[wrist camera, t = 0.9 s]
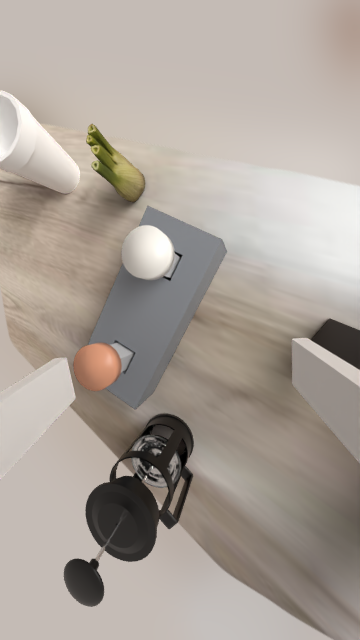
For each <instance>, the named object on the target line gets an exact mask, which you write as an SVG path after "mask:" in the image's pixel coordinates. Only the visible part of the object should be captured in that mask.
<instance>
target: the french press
mask: <svg viewBox="0 0 360 640" xmlns="http://www.w3.org/2000/svg"><path fill="white" fill-rule="evenodd" d="M155 425H164V426H167V427H170V428H171V429H173V430H174V432H173V433H172V435H171V437H170V438H169V440H168V439H166V438H164V437H162V436H159V435H151V432H152V429H153V427H154V426H155ZM138 439H139V440H138ZM181 439H182V440H183V441H184V443H185V446H186V448H185V451H184V452H183V453H182V454H181V455H180V456H179V453H178V451H177V448H178V446H179V443H180V441H181ZM133 445H134V446H133ZM132 447H133V448H132ZM193 447H194V441H193V435H192V433H191V430H190V429H189V427H188V426H187V424H186V423H185V422H184V421H183V420H181V419H180V418H178V417H177V416H174V415H171V414H160V415H157V416H155V417H153V418H152V419H151V420H150V421H149V423H148V424H147V426H146V428H145V429H144V430H143V431H142V433H141V434H140V435H139V436H138V437H137V439H136V440H135V441H134V442H133V443H132V445H131V446H130V447H129V448H128V449H127V451H126V452H125V453H124V454H123V455H122V457H121V458H120V459H119V460H118V461H117V463H116V464H115V466H114V467H113V468H112V471H111V474H110V482H108V483H103V484H101V485H99V486H98V487H96V488H95V489H94V490H93V491H92V493H91V494H90V495H89V498H88V500H87V504H86V519H87V524H88V527H89V529H90V531H91V533H92V535H93V537H94V539H95V540H96V542H97V543H98V544H99V545H100V546H101V547H102V548H101V550H100V552H99V553H98V555H97V557H96V558H95V559H92V560H91V561H90V563H88V562H87V561H85V560H82V559H73V560H70V561H69V562H68V563H67V564H66V566H65V569H64V580H65V583H66V587H67V589H68V591H69V592H70V594H71V595H72V596H73V597H74V598H75V599H76V600H77V601H78V602H79V603H81V604H83V605H86V606H91V607H92V606H96V605H98V604H99V603H100V602H101V601H102V599H103V596H104V585H103V582H102V579H101V577H100V575H99V573H98V572H97V568H98V566H99V563H98V561H99V559H100V557H101V556H102V554H103V552H104V551H106V552H107V553H109V554H110V555H112V556H113V557H115V558H117V559H120V560H123V561H128V562H132V561H138V560H142V559H143V558H145V557H146V556H148V554H149V553H150V552H151V551H152V549H153V546H154V544H155V541H156V537H157V536H156V534H157V525H158V522H159V519H160V520H161V521H162V522H163V523H164V525H165V526H166V527H167V528H168V529H171V528H172V527H173V526H174V525H175V524H176V523H178V521H179V518H180V515H181V512H182V509H183V506H184V503H185V499H186V496H187V493H188V490H189V487H190V484H191V481H192V478H193V474H192V473H191V471H190V470H189V469H188V468H187V467H186V466H185V465H186V463H187V460H188V458H189V457H190V455H191V453H192V451H193ZM131 448H132V451H130V452H129V450H130V449H131ZM127 458H131V460H132V464H133V467H134V469H135V471H136V473H135V474H134V476H133V477H132V476H123V477H120V478H117V479H116V469H117V466H118V463H119V462H120V461H122V460H124V459H127ZM181 476H182V477H183V479H184V480H185V483H184V485H183V488H182V491H181V494H180V497H179V499H178V502H177V505H176V508H175V511H174V513H173V515H172V514H171V513H170V511H169V510H168V508H169V506H170V504H171V501H172V498H173V494H174V492H175V489H176V487H177V484H178V482H179V479H180V477H181ZM144 482H146V483H147V484H149V485H151V486H154V487H158V488H164V487H168V490H169V492H168V495H167V497H166V499H165V502H164V504H163V506H162V509H161V510H160V511H159V509H158V505H157V502H156V500H155V498H154V496H153V494H152V493H151V491H150V490H149V489H148V488H147V487H146V486H145V485H144Z"/></svg>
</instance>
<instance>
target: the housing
mask: <svg viewBox="0 0 360 640" xmlns="http://www.w3.org/2000/svg"><path fill="white" fill-rule="evenodd" d="M143 225H150V226H154V227H156V228H158V229H159V230H160V231H162V232H163V233H164V234H165V235H166V236H167V237H168V238H169V239H170V240H171V242H172V244H173V246H174V252H175V254H176V255H178V256H180V257H181V260H180V262H179V264H178V266H177V268H176V270H175V272H174V274H173V276H172V278H169V277H166V276H163V277H161V278H159V279H157V280H146V279H141V278H138V277H135V276H133V275H132V274H130V273H129V272H128V271H127V269H126V268H125V266H124V264H122V266H121V269H120V271H119V273H118V276H117V278H116V280H115V283H114V285H113V287H112V290H111V292H110V294H109V297H108V299H107V301H106V304H105V306H104V308H103V310H102V313H101V315H100V317H99V320H98V322H97V324H96V327H95V329H94V331H93V334H92V336H91V338H90V341H89V343H88V345H91V344H95V343H100V342H102V343H107V344H109V345H111V344H114V343H118V342H120V343H121V344H123V345H124V346H126V347H127V348H129V349H131V350H132V351H134V352H135V355H134V357H133V359H132V361H131V363H130V365H129V367H128V369H127V370H125V371H123V372H121V374H120V376H119V378H118V379H117V380H116V381H115V382H114V383H113V384H111V385H109V386H108V387H106V388H105V389H107V390H108V391H110V392H111V393H112V394H114V395H115V396H117V397H118V398H120V399H121V400H122V401H124V402H125V403H127V404H128V405H129V406H131V407H132V408H134V409H136V408H138V407H139V406H140V405H141V404H142V403H143V402H144V401H145V400H146V399H147V398H148V397H149V396H150V395H152V394H153V392H154V391H155V389H156V387H157V385H158V383H159V381H160V379H161V377H162V375H163V373H164V371H165V369H166V368H167V366H168V364H169V362H170V360H171V358H172V356H173V354H174V352H175V350H176V348H177V346H178V345H179V343H180V341H181V339H182V337H183V335H184V333H185V331H186V329H187V327H188V325H189V323H190V321H191V320H192V318H193V316H194V314H195V312H196V310H197V308H198V306H199V304H200V302H201V300H202V298H203V297H204V295H205V293H206V291H207V289H208V287H209V285H210V283H211V281H212V279H213V277H214V275H215V274H216V272H217V270H218V268H219V266H220V264H221V262H222V260H223V258H224V256H225V254H226V252H227V250H226V248H225V245H224V243H223V240H222V239H220V238H218V237H216V236H213V235H211V234H209V233H207V232H205V231H202V230H200V229H198V228H196V227H194V226H191V225H189V224H187V223H185V222H183V221H180V220H178V219H176V218H174V217H172V216H169V215H167V214H165V213H163V212H161V211H158V210H156V209H154V208H152V207H149V206H147V208H146V211H145V213H144V215H143V218H142V220H141V222H140V225H139V226H143Z"/></svg>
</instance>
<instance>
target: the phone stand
mask: <svg viewBox="0 0 360 640" xmlns="http://www.w3.org/2000/svg"><path fill="white" fill-rule="evenodd" d="M311 341H313V342H314V343H316V344H318V345H319V346H321V347H323V348H324V349H326V350H327V351H329V352H331V353H332V354H334V355H336V356H337V357H339V358H341V359H342V360H344V361H346V362H347V363H349V364H351V365H352V366H354V367H356V368H357V369H359V370H360V330H357V329H355V328H352V327H350V326H347V325H345V324H342V323H340V322H337V321H335V320H332V319H329V320H328V321H327V323H326V324H325V325H324V326H323V327H322V328H321V329H320V331H319V332H318V333H317V334H316V335H315V336H314V337H313V339H312V340H311Z"/></svg>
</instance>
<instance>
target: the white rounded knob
mask: <svg viewBox="0 0 360 640" xmlns="http://www.w3.org/2000/svg"><path fill="white" fill-rule="evenodd" d="M121 255H122V261H123V264H124V266H125V268H126V269H127V271H128V272H129V273H130V274H132V275H133V276H135V277H138V278H141V279H146V280H157V279H159V278H161V277H163V276H166V277H169V278H172V276H173V274H174V272H175V270H176V268H177V266H178V264H179V262H180V260H181V258H180V257H179V256H178V255H176V254H175V252H174V246H173V244H172V242H171V240H170V239H169V238H168V237H167V236H166V235H165V234H164V233H163V232H162V231H160V230H159V229H158V228H156V227H154V226H150V225H143V226H139V227H137V228H135V229H134V230H132V231H131V232H130V233H129V234H128V235H127V237H126V238H125V240H124V242H123V245H122V251H121Z"/></svg>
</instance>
